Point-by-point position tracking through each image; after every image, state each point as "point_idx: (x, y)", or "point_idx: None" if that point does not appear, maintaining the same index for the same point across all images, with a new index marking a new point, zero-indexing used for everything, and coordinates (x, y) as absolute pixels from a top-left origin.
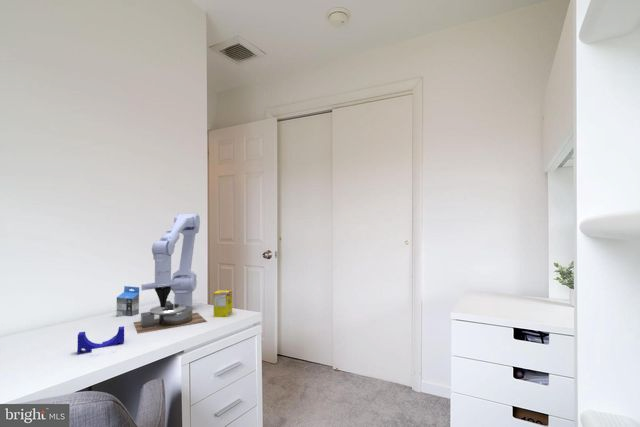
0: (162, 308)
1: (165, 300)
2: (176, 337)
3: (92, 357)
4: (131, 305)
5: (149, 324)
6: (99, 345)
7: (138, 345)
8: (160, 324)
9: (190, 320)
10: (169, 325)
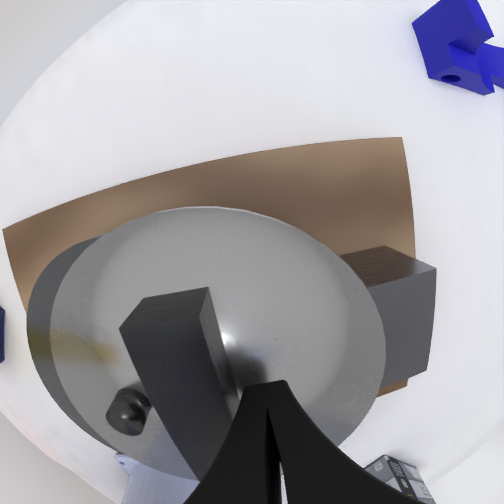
0: None
1: (237, 441)
2: (167, 28)
3: None
4: (404, 493)
5: (352, 258)
6: (487, 55)
7: (356, 3)
8: None
9: None
10: None
